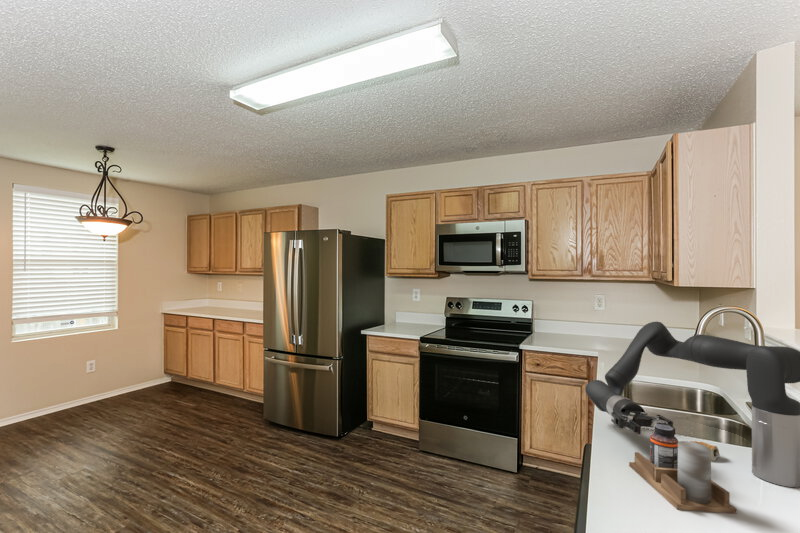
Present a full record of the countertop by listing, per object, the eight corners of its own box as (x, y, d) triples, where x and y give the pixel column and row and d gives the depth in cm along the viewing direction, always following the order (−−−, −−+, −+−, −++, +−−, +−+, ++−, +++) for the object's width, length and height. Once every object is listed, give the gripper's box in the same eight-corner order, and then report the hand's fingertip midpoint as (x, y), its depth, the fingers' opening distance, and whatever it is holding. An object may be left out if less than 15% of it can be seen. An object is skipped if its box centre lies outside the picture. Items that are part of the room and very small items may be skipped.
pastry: (674, 450, 115) (674, 437, 115) (683, 446, 119) (683, 433, 119) (713, 463, 108) (713, 449, 108) (721, 458, 111) (721, 444, 112)
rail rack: (676, 468, 103) (676, 422, 104) (736, 513, 83) (736, 456, 84) (629, 465, 104) (629, 420, 104) (677, 509, 84) (677, 452, 84)
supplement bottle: (651, 464, 103) (651, 420, 103) (679, 472, 99) (679, 426, 100) (648, 472, 98) (648, 426, 99) (677, 480, 95) (677, 433, 95)
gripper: (600, 397, 119) (628, 415, 103) (649, 399, 118) (685, 418, 102) (600, 422, 119) (628, 444, 103) (649, 425, 118) (684, 447, 102)
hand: (656, 431), depth 102 cm, fingers open, 8 cm apart
